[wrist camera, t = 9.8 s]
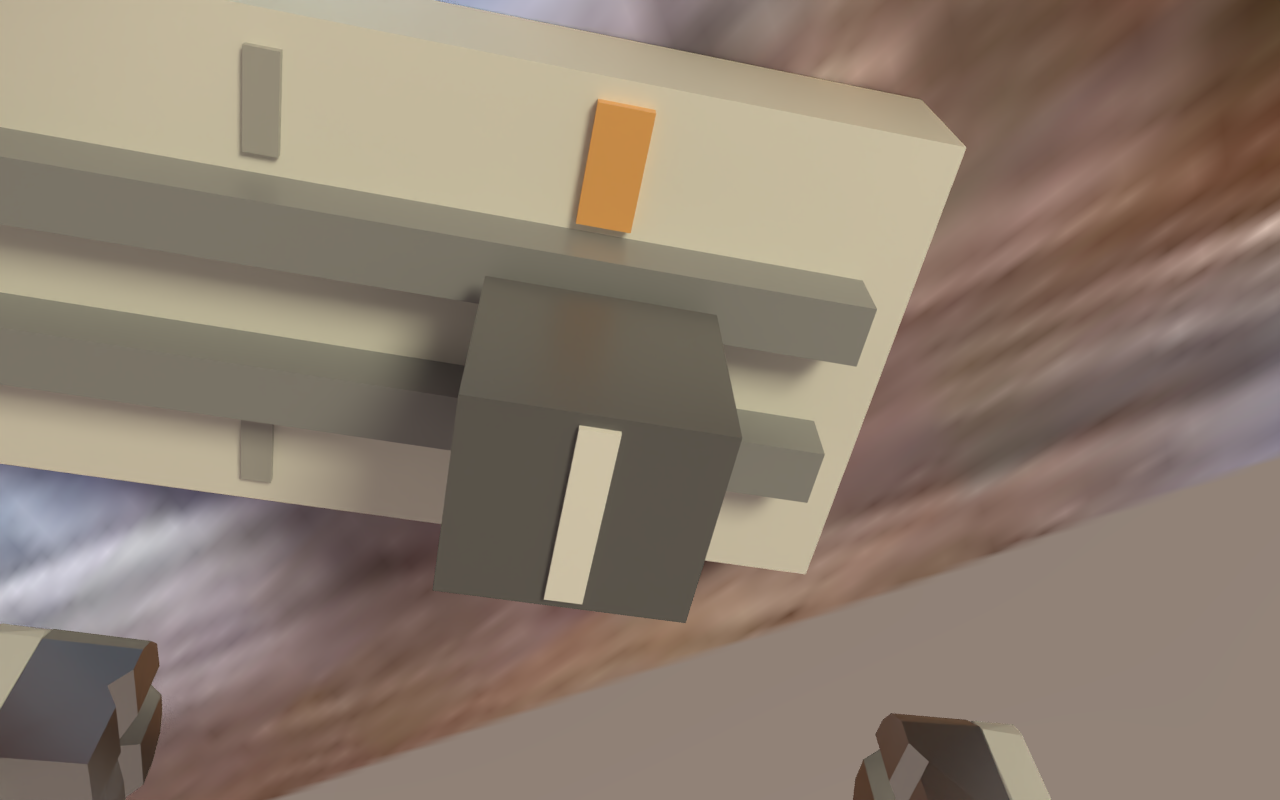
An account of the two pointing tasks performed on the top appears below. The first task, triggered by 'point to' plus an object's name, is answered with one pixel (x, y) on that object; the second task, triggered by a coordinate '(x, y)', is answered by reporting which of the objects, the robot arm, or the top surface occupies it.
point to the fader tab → (587, 453)
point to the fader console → (425, 240)
